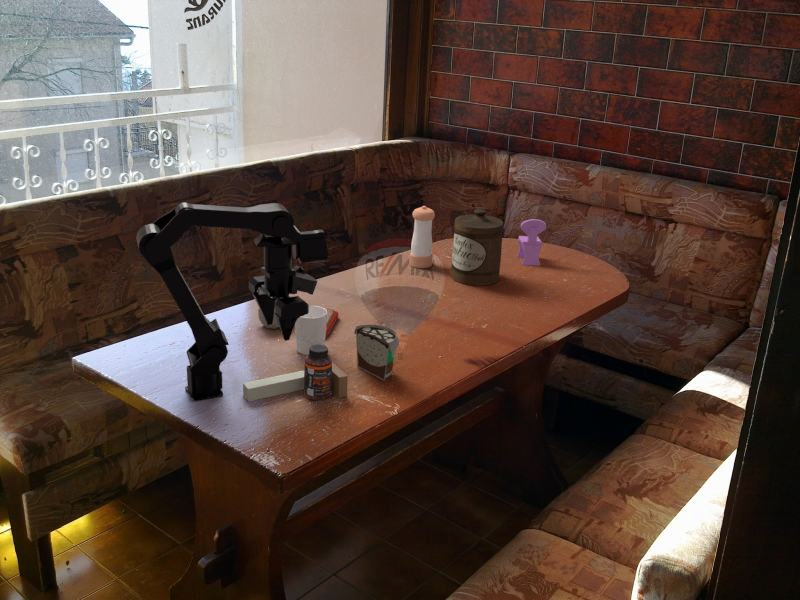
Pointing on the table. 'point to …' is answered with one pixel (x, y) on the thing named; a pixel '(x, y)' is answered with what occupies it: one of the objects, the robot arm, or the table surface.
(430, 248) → the pepper shaker
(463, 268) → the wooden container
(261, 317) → the ceramic sculpture
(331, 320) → the candy bar
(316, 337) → the white cup
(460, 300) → the table surface
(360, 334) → the food container
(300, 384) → the wall board
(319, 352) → the supplement bottle
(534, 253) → the toy chair
